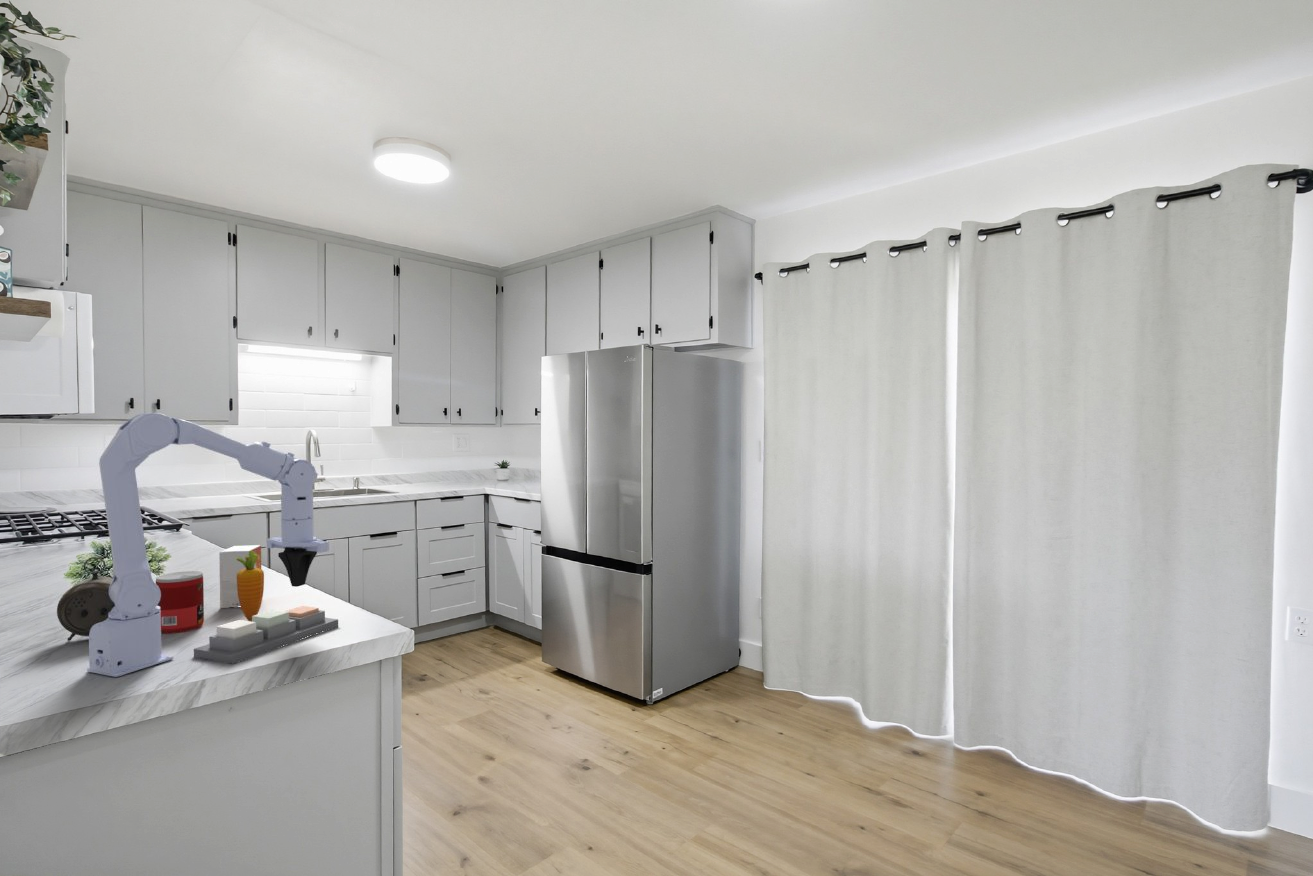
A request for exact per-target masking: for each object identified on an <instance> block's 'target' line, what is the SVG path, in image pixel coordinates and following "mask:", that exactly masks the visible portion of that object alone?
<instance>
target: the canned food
mask: <svg viewBox="0 0 1313 876" xmlns="http://www.w3.org/2000/svg"><path fill="white" fill-rule="evenodd" d="M203 574H204V573H203V571H199V570H198V571H197V570H192V571H191V570H189V571H188V570H187V571H178V572H177V571H176V572H170V573H166V574H161V575H159V576H157V577H156V578H155V583H156V585H157V586H158V587H159V589H160V591H161V598H160V601H159V603H158V605H157V606H160V609H161V610H160V611H161V634H177V633H185V632H189V631H193V629H194V630H197V629H199V628H201V627H202V626H203V625H204V621H205V611H204V610H205V606H204V605H205V604H204V600H205V599H204V598H205V597H204V595H205V594H204V590H205V588H204V575H203ZM196 628H197V629H196Z"/></svg>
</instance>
